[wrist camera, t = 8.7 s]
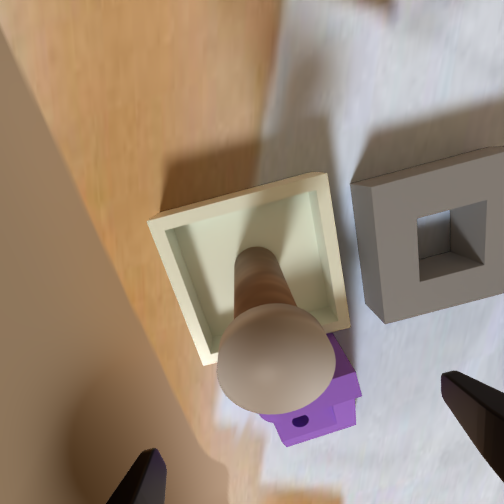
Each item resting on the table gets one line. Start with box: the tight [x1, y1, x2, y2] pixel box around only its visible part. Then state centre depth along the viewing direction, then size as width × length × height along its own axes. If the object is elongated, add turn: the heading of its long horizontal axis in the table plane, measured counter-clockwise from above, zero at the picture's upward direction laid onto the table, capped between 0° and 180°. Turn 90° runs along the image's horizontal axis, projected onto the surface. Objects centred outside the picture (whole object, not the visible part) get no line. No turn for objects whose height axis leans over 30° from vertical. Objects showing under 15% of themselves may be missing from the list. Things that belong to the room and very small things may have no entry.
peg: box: [217, 246, 336, 414], centre depth 15 cm, size 4×4×10 cm
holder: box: [350, 146, 504, 324], centre depth 19 cm, size 10×10×3 cm
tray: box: [147, 172, 351, 366], centre depth 19 cm, size 11×11×3 cm
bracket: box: [258, 332, 362, 447], centre depth 21 cm, size 12×7×7 cm, turn 19°
